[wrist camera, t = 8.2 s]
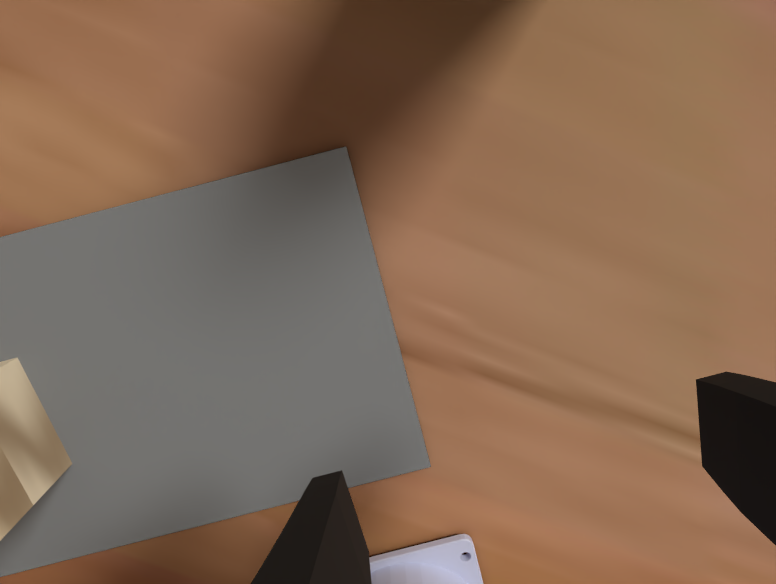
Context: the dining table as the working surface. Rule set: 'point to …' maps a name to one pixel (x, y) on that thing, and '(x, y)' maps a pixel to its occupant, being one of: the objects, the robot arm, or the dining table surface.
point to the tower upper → (11, 497)
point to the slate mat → (204, 356)
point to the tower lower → (28, 433)
